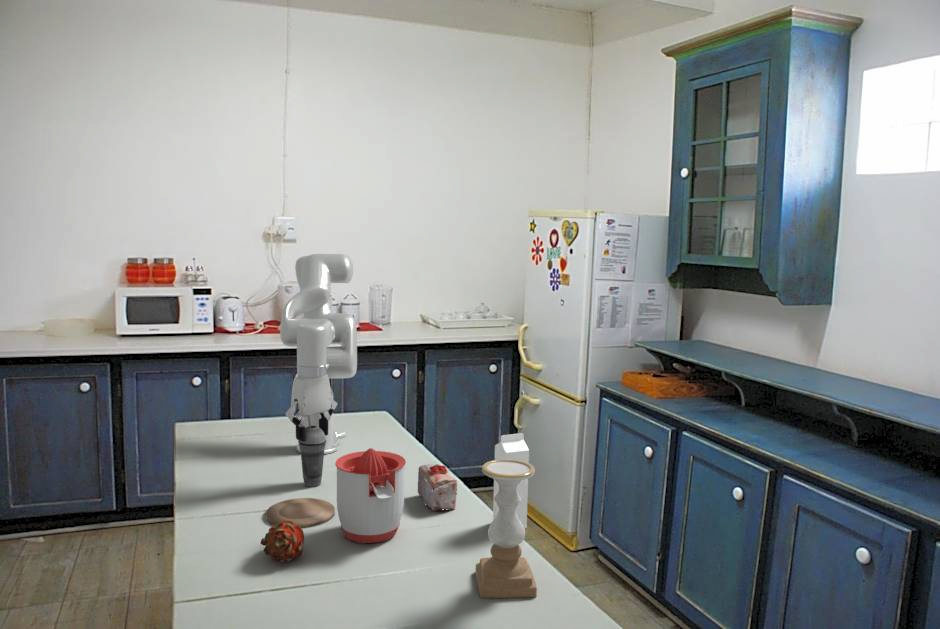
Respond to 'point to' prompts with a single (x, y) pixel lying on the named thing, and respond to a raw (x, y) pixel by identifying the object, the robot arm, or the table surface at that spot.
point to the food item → (437, 487)
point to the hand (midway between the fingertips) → (312, 436)
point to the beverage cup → (312, 454)
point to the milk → (516, 450)
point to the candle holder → (506, 537)
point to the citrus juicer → (370, 494)
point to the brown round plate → (301, 512)
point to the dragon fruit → (284, 541)
